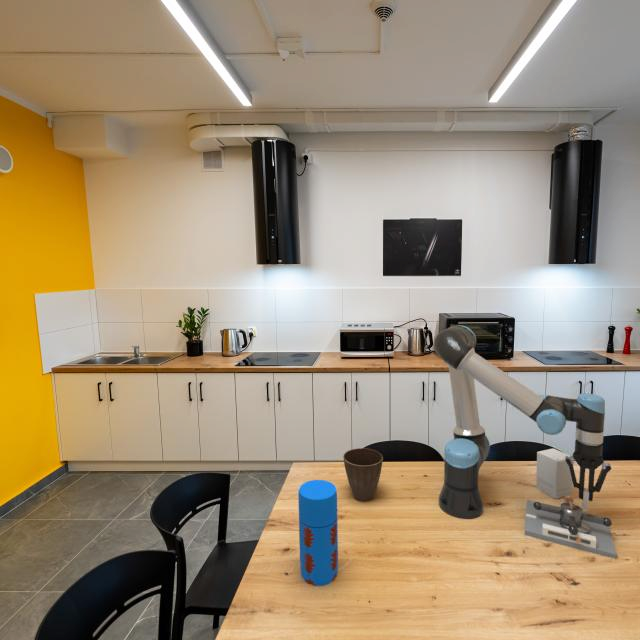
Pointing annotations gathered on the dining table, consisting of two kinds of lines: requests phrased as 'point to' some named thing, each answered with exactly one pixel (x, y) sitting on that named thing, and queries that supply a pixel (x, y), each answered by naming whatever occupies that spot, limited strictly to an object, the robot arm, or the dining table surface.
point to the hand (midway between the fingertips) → (584, 508)
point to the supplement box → (553, 473)
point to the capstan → (573, 516)
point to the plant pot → (363, 472)
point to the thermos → (318, 532)
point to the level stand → (551, 530)
